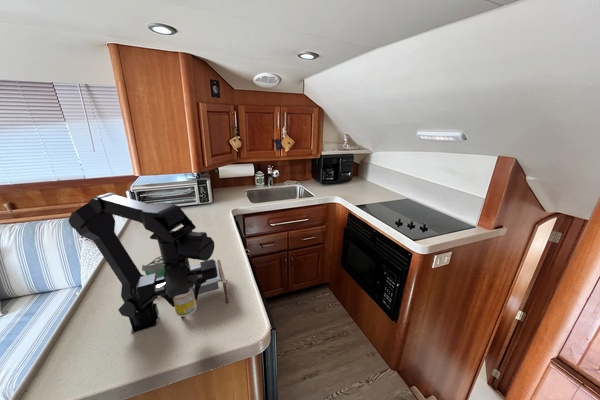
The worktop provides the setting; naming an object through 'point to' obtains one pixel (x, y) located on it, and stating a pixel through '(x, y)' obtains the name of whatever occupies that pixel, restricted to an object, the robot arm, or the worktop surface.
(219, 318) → the worktop surface
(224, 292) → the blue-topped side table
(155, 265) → the food container
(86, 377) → the worktop surface
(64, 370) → the worktop surface
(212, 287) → the grey flat block
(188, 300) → the supplement bottle
